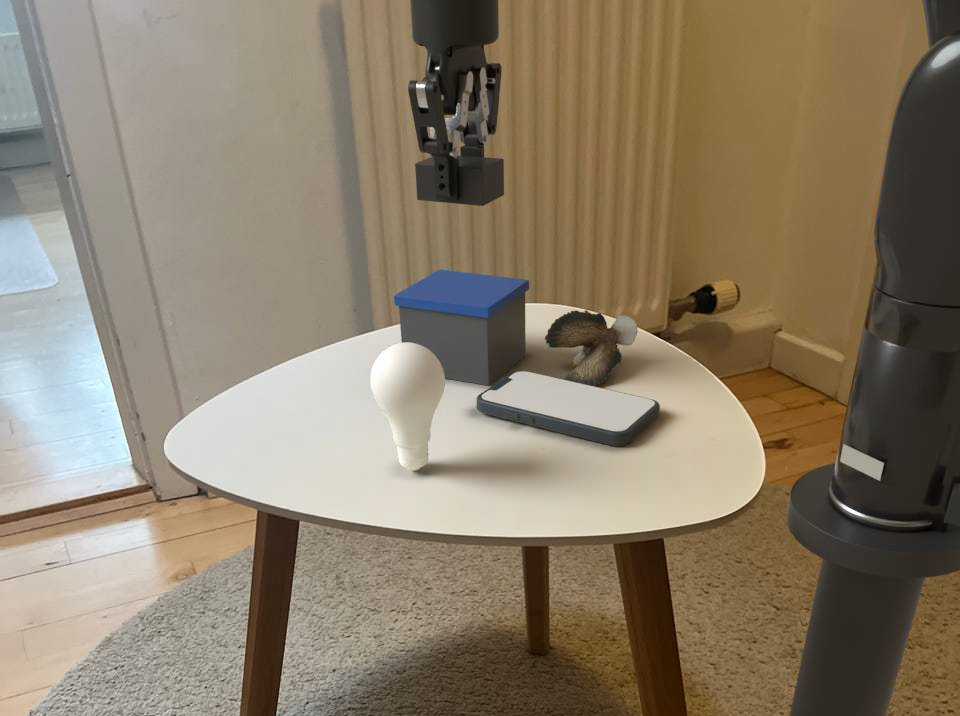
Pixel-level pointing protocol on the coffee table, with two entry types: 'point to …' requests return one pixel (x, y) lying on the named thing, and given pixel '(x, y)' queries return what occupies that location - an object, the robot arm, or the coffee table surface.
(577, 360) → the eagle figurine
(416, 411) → the lightbulb
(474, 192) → the case
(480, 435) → the coffee table surface
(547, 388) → the smartphone
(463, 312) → the container
